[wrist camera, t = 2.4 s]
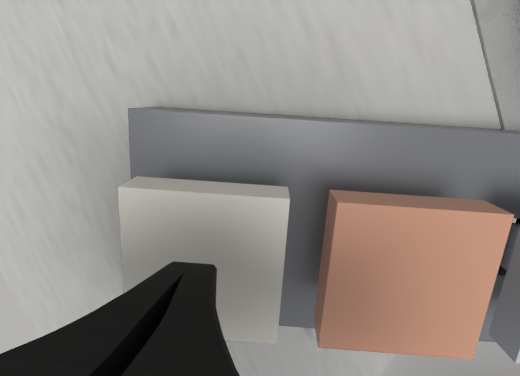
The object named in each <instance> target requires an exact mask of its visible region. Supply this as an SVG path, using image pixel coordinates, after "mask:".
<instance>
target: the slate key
mask: <svg viewBox="0 0 520 376" xmlns="http://www.w3.org/2000/svg"><path fill="white" fill-rule="evenodd" d="M500 266H501V267H503V268H504V269H505V270H507V272H506V275H505V279H504V282H503V285H502V289H501V292H500V296H499V299H498V302H497V306H496V309H495V313H494V316H493V319H492V323H491V326H490V330H489V333H488V334H489V335H490V336H491V337H492V338H493V339H494V340H495V341H496V343H497V344H498V345H499V346H500V347H501V348H502V349H503V350H504V351H505V352H506V353H507V354H508V356H509V357H510V358H511V359H512V360H513V361H514V362H515V363H520V224H517V223H512V225H511V228H510V232H509V235H508V238H507V242H506V245H505V249H504V252H503V256H502V259H501V263H500Z"/></svg>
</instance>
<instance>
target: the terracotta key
mask: <svg viewBox="0 0 520 376" xmlns="http://www.w3.org/2000/svg"><path fill="white" fill-rule="evenodd" d="M513 218H514V214H512V213H510V212H508V211H506V210H503V209H501V208H499V207H497V206H495V205H493V204H491V203H489V202H487V201H485V200H473V199H459V198H444V197H430V196H415V195H401V194H386V193H372V192H358V191H343V190H329V198H328V206H327V214H326V222H325V230H324V238H323V247H322V255H321V263H320V271H319V279H318V287H317V295H316V303H315V311H314V319H313V321H314V326H315V332H316V337H317V342H318V348H331V349H343V350H356V351H369V352H382V353H394V354H407V355H420V356H433V357H445V358H459V359H471V360H473V357H474V353H475V350H476V346H477V343H478V340H479V336H480V333H481V329H482V326H483V322H484V319H485V315H486V312H487V308H488V305H489V301H490V298H491V294H492V291H493V287H494V284H495V280H496V277H497V273H498V270H499V266H500V263H501V259H502V256H503V252H504V249H505V245H506V242H507V238H508V235H509V232H510V228H511V225H512V221H513Z"/></svg>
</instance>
